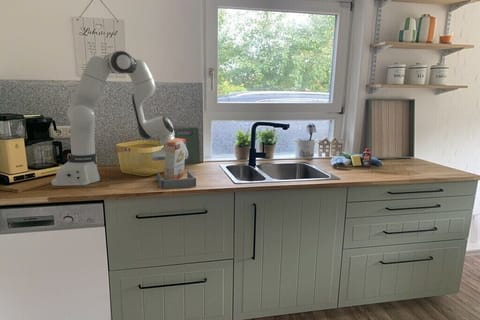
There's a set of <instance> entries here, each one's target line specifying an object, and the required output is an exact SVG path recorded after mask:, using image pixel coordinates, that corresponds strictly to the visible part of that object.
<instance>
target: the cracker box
mask: <svg viewBox="0 0 480 320" xmlns="http://www.w3.org/2000/svg"><path fill="white" fill-rule="evenodd" d="M185 147H186V148H187V139H186V138H180V137H175V139H173V140H169V141H166V150H165V160H164V171H163V180H173V179H181V178H182V177H183V176H184V174H185V160H186V159H185Z"/></svg>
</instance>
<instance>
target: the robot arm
mask: <svg viewBox="0 0 480 320" xmlns="http://www.w3.org/2000/svg"><path fill="white" fill-rule="evenodd" d="M110 74H118V75H122V74H126V75H128V77H129V79H130V80H131V82H132V85H133V89H134V91H133V94H132V95H131V99H132V100H131V101H132V106H133V110H134V115H135V119H136V124H137V130H138V133H139V136H140V137H141V138H143V139H144V140H150V139H152V138H154V137H157V136H159V138H160V139H159V142H160V144H157V145H152V146H150V147H157V146H161V145H164V147H163V148H162V149H161V150H159V151H156V152H153V153H152V152H151V160H152V161H165V150H166V141H169V140H173V139H176V137H175V130H174V123H173V122H172V119H171V118H169V117H167V116H166V115H160V116H158V117H154V118H152V119H149V120H147V119H145V114H144V110H143V104H144V103H145V101H146V100H148V99H149V98H151V97H152V96H153V94H154V93H155V91H156V89H157V85H156V82H155V78H154V76H153V74H152V72H151V70H150V69H149V66H148V65H147V63H146V62H145V61H144V60H142V59H135V58H134V57H132V56H131V55H130V54H129V53H128V52H126V51H125V50H115V51H112V52H110V53H108V54H107V55H106V56H104V57H102V56H98V55H97V56H96V55H94V56H92V57H90V58H89V60H88V62H87V63H86V65H85V67H84V69H83V72H82V75H81V76H80V80H79V83H78V85H77V88H76V91H75V92H74V95H73V97H72V99H71V100H70V101H71V102H70V104H69V106H68V108H67V111H66V115H67V119H68V120H69V125H70V126H69V127H70V135H69V136H70V150H71V153H67V155H66V157H67V158H66V159H67V162H65V163H64V164H63V165H61V166H60V167H59V168H58V169H57V170H56V174H55V178H53V179H52V180H51V183H50V184H51V185H52V186H54V187H55V186H56V187H57V186H59V187H60V186H67V187H68V186H87V185H89V184H93V183H97V182H99V181H100V180H101V177H100V174H99V170H98V165H97V164H98V157H97V153H96V144H95V143H96V142H95V132H96V131H95V130H96V115H95V111H94V110H95V108H96V106H97V104H98V102H99V100H100V99H101V96H102V94H103V91H104V88H105V85H106V82H107V79H108V77H109V75H110ZM188 158H189V151H188V148H187V146H186V147H185V160H187V159H188Z"/></svg>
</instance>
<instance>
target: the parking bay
mask: <svg viewBox="0 0 480 320" xmlns="http://www.w3.org/2000/svg"><path fill="white" fill-rule="evenodd" d="M186 172H187V178H178V179H173V180H164V178H163V177H162V174H161V173H160V172H159V171H158V172H157V173H156V174H157V175H156V176H157V177H156V179H157V182H158V184H159V186H160V188H161V189H163V190H164V189H176V188H189V187H197V178H196V177H195V175H194V174H193V173H192V172H191V171H190V170H187V171H186Z"/></svg>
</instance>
